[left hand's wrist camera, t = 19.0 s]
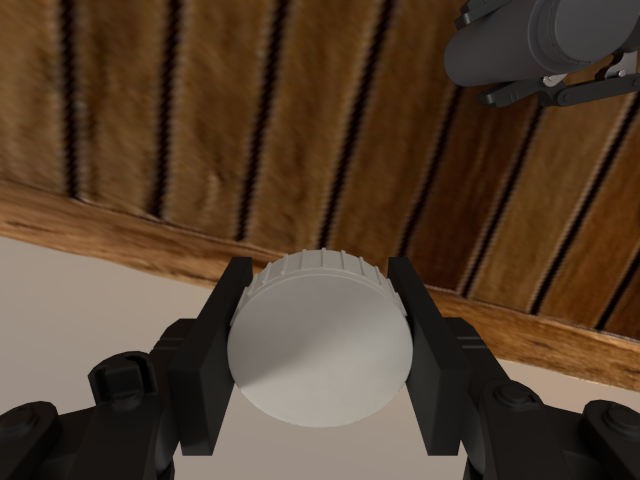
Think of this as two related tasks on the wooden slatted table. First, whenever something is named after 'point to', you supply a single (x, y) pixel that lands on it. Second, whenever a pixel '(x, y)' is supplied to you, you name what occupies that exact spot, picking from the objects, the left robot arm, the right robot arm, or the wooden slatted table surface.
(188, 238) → the wooden slatted table surface
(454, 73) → the jar
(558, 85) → the right robot arm
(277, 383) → the lid
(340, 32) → the wooden slatted table surface
